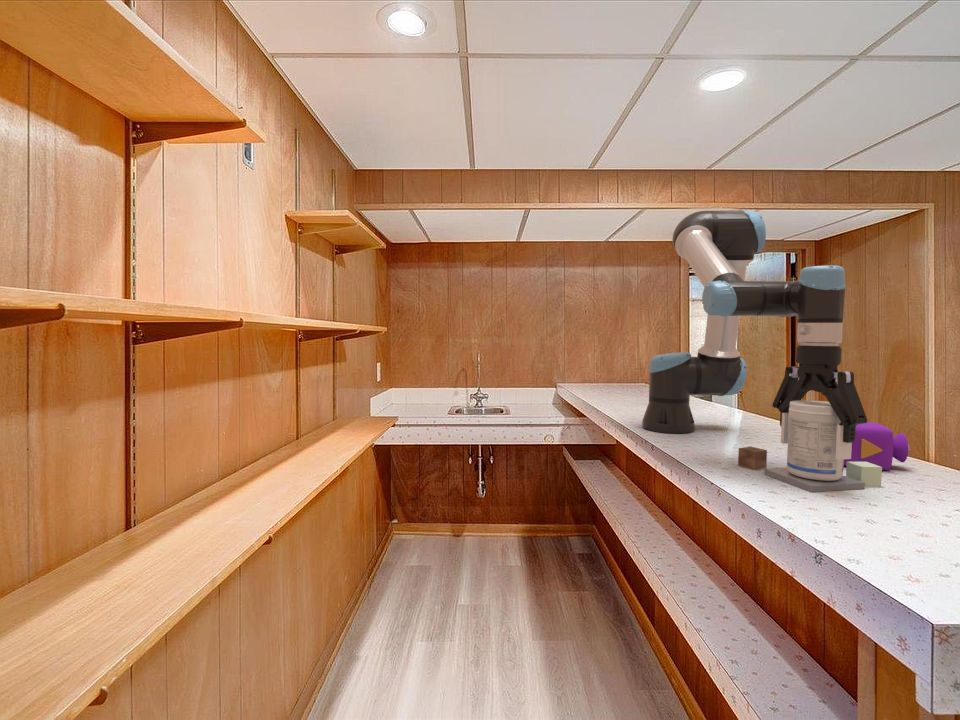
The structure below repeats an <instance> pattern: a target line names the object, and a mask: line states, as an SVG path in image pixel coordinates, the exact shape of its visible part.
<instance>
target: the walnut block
mask: <svg viewBox="0 0 960 720" xmlns="http://www.w3.org/2000/svg"><path fill="white" fill-rule="evenodd" d="M737 456H738V458H737V459H738V460H737V466H740V467H744V468H747V469H750V470H753V471H755V470H761V469H767V459H768V458H767V457H768V450H767V449H763V448H759V447H754V446H750V445H749V446H745V447H744V446H742V447H739V448H738V455H737Z"/></svg>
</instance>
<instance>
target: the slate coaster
mask: <svg viewBox="0 0 960 720" xmlns="http://www.w3.org/2000/svg"><path fill="white" fill-rule="evenodd" d="M763 469H764V471H763V472H764V475H765V476H767V477H771V478H773V479H775V480H778V481H781V482H784V483H786V484H790V485H791V486H794V487H797V488H799V489H802V490H805V491H807V492H809V493H820V492H821V493H822V492H823V493H824V492H835V491H851V490H864V489H866V488H865V483H864V482H861V481H858V480H855V479H852V478H849V477H846V475H843V476H842V477H841V478H840V479H838V480H834V481H821V480H812V479H806V478H802V477H798V476H795V475H793V474H791V473H790V472H789V471H788V470H787V466H786V467H774V468H773V467H770V468H768V467H766V468H763Z"/></svg>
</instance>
